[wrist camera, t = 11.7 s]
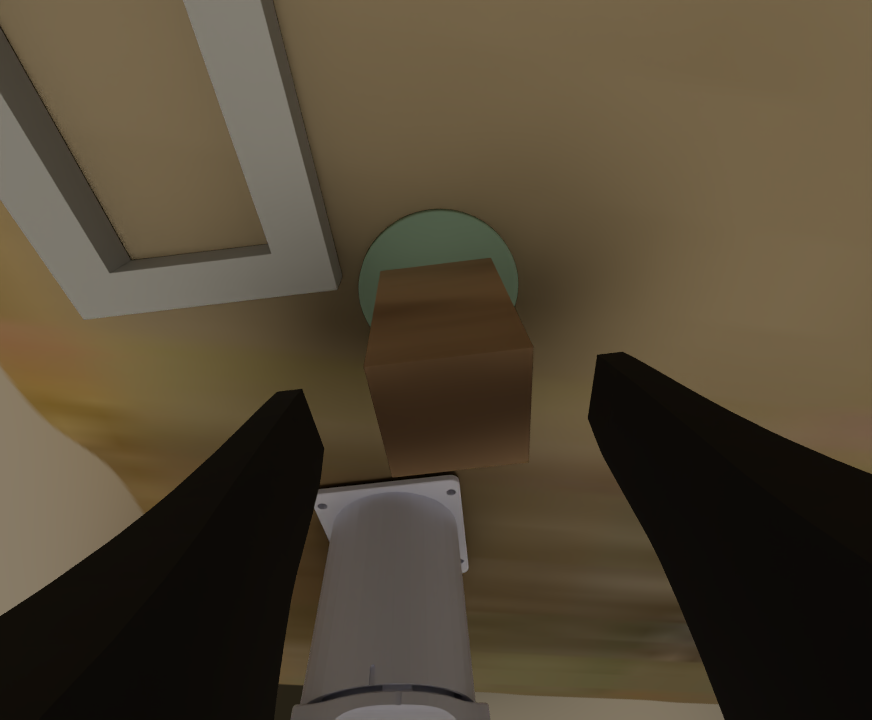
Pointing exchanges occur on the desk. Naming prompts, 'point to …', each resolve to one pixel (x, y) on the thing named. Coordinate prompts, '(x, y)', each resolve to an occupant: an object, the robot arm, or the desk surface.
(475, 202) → the desk surface
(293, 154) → the slot board
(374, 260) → the green pad
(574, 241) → the desk surface
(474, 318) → the walnut block
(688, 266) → the desk surface
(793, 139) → the desk surface
